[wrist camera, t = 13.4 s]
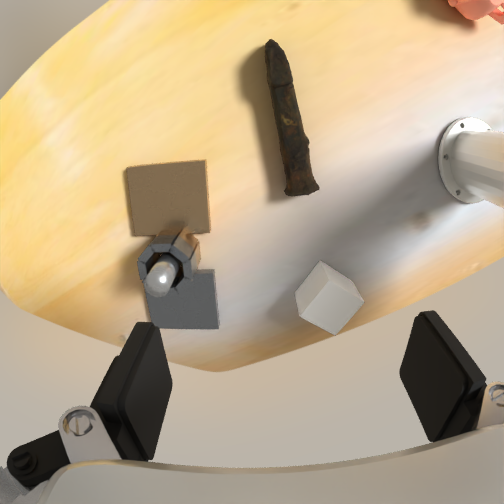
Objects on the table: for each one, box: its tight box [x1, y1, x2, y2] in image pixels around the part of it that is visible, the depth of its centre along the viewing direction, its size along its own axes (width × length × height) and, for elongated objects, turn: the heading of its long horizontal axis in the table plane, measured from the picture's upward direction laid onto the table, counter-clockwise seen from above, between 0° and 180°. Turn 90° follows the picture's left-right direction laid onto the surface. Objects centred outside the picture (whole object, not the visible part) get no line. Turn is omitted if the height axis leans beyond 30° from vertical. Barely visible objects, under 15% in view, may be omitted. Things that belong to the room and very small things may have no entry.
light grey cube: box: [294, 261, 364, 335], centre depth 41 cm, size 6×6×6 cm
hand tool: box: [265, 39, 319, 196], centre depth 33 cm, size 19×4×5 cm, turn 9°
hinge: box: [127, 160, 220, 329], centre depth 39 cm, size 10×24×6 cm, turn 2°
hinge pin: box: [144, 252, 182, 297], centre depth 37 cm, size 3×3×10 cm
